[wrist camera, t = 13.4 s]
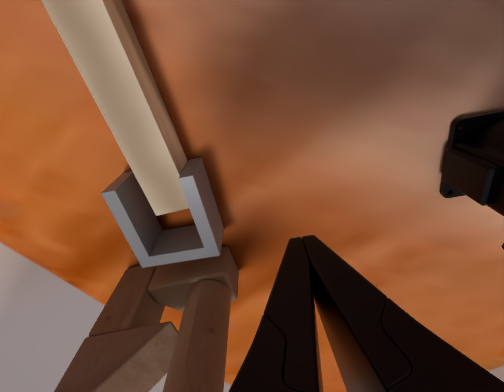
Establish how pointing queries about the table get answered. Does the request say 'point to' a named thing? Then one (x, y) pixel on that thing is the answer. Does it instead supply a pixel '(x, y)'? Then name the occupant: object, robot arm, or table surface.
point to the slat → (124, 94)
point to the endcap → (147, 225)
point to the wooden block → (160, 330)
